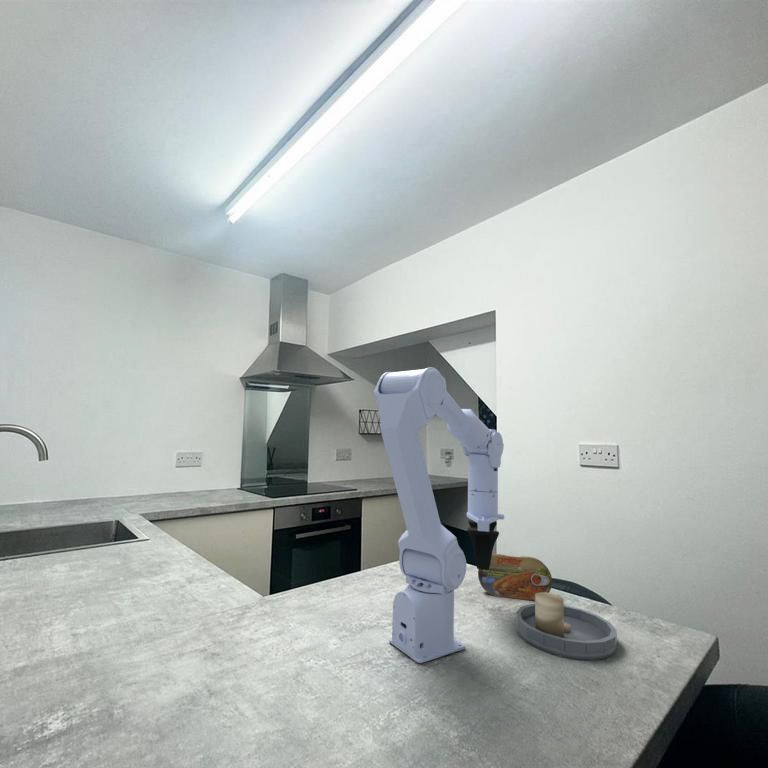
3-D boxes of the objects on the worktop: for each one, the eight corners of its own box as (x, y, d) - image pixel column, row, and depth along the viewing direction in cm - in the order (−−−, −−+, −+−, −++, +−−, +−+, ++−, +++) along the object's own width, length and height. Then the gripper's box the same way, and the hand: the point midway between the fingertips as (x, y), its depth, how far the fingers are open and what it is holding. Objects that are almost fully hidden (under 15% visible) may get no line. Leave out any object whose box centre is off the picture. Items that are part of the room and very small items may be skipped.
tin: (477, 594, 90) (478, 553, 91) (478, 589, 93) (478, 549, 94) (552, 603, 86) (552, 560, 87) (550, 598, 89) (550, 557, 90)
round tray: (581, 670, 61) (580, 651, 61) (497, 628, 73) (497, 613, 74) (635, 645, 69) (634, 628, 69) (551, 611, 82) (551, 598, 82)
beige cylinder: (552, 644, 66) (552, 603, 67) (529, 632, 70) (529, 594, 71) (569, 638, 69) (569, 599, 69) (546, 627, 72) (546, 590, 73)
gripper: (506, 496, 74) (507, 576, 72) (501, 488, 88) (501, 555, 87) (466, 493, 76) (465, 572, 74) (467, 486, 90) (466, 552, 88)
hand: (482, 563), depth 80 cm, fingers open, 7 cm apart
